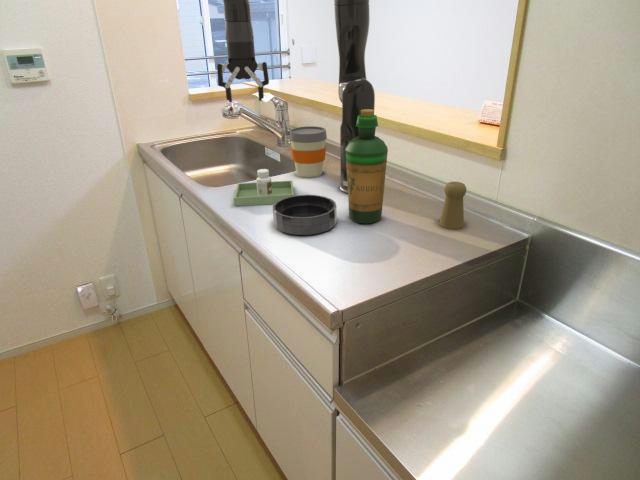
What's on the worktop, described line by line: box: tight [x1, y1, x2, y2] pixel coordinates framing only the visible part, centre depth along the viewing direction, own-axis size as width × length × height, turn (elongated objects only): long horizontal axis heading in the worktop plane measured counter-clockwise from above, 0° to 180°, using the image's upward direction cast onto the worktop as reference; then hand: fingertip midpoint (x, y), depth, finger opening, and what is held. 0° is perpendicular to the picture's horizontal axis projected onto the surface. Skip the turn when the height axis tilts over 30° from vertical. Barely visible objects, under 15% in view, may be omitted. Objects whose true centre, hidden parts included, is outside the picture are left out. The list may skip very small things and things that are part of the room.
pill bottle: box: [255, 168, 272, 196], centre depth 135 cm, size 4×4×8 cm
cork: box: [439, 181, 467, 230], centre depth 112 cm, size 6×6×11 cm
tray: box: [233, 180, 295, 207], centre depth 136 cm, size 17×13×2 cm
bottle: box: [346, 109, 389, 225], centre depth 113 cm, size 11×11×28 cm
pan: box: [272, 194, 338, 236], centre depth 117 cm, size 16×16×5 cm
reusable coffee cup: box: [288, 125, 328, 179], centre depth 153 cm, size 13×13×15 cm
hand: (245, 101), depth 131 cm, fingers open, 8 cm apart
